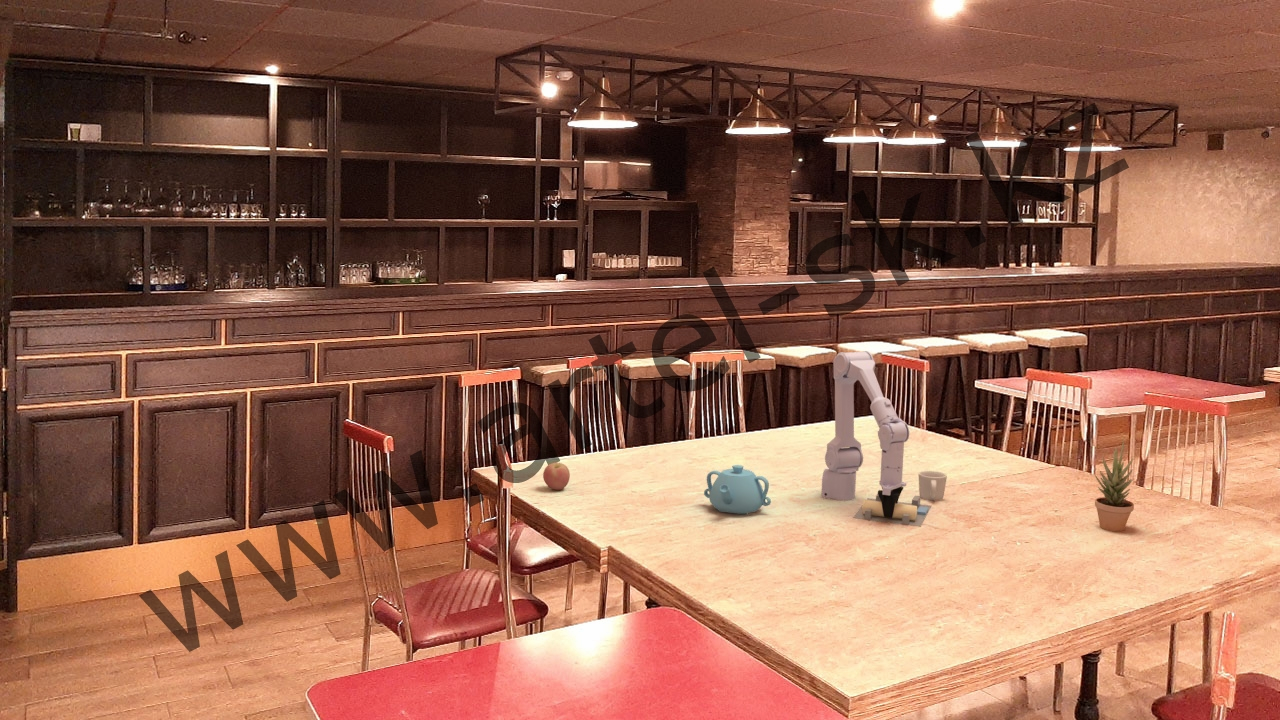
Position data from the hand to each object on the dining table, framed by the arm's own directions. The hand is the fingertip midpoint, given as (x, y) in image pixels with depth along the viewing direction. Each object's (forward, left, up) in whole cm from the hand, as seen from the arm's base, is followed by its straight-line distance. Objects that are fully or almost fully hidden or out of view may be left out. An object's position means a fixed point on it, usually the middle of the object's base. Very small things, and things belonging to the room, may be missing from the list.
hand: (889, 514), depth 279 cm
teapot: (-41, -10, -2) cm, 42 cm away
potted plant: (+56, +20, -2) cm, 59 cm away
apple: (-96, -11, -2) cm, 97 cm away
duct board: (0, +6, -2) cm, 6 cm away
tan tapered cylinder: (0, 0, -1) cm, 1 cm away
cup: (+8, +25, -2) cm, 26 cm away
